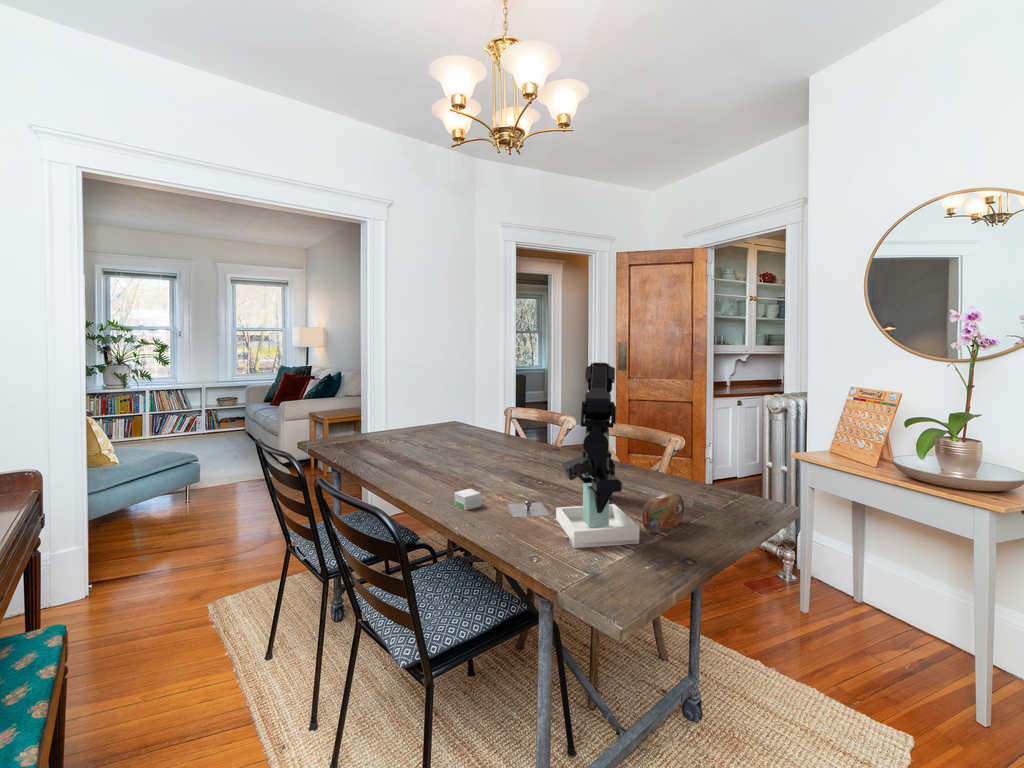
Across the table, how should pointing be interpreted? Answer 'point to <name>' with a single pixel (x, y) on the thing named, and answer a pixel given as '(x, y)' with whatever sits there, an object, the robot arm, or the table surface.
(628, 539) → the bin
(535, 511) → the stud plate
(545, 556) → the table surface
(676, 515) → the tin
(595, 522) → the block
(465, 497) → the small box
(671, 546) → the table surface
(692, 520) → the table surface
